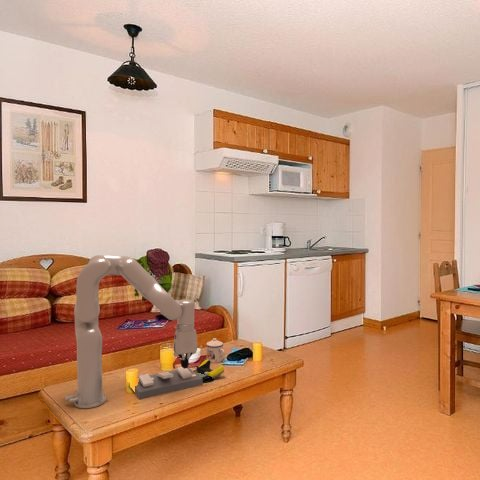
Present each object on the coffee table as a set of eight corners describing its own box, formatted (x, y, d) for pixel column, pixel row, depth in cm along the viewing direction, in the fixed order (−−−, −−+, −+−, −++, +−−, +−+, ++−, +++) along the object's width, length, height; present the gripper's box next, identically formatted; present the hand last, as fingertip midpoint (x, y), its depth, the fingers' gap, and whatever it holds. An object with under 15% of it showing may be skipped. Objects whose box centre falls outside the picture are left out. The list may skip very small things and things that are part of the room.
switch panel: (139, 399, 169) (139, 390, 168) (128, 385, 182) (128, 377, 182) (202, 384, 183) (202, 376, 183) (188, 373, 197) (188, 365, 197)
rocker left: (143, 386, 173) (143, 384, 172) (136, 375, 181) (136, 372, 181) (153, 384, 175) (153, 381, 175) (146, 373, 183) (146, 370, 183)
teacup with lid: (202, 360, 216) (202, 338, 215) (215, 356, 223) (215, 335, 222) (217, 365, 208) (217, 343, 207) (230, 361, 214) (230, 339, 214)
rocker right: (182, 378, 182) (183, 376, 182) (174, 367, 190) (175, 364, 190) (191, 376, 184) (192, 374, 184) (183, 365, 192) (183, 363, 192)
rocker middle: (163, 378, 177) (163, 375, 177) (156, 375, 186) (156, 372, 186) (173, 376, 179) (173, 373, 179) (165, 373, 188) (165, 370, 188)
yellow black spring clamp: (208, 368, 204) (191, 373, 197) (208, 358, 203) (191, 362, 197) (226, 377, 192) (208, 383, 186) (226, 366, 192) (208, 371, 186)
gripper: (173, 331, 176) (172, 372, 176) (204, 327, 183) (203, 367, 184) (166, 327, 182) (166, 367, 183) (197, 323, 190) (196, 362, 190)
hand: (184, 367), depth 183 cm, fingers closed
